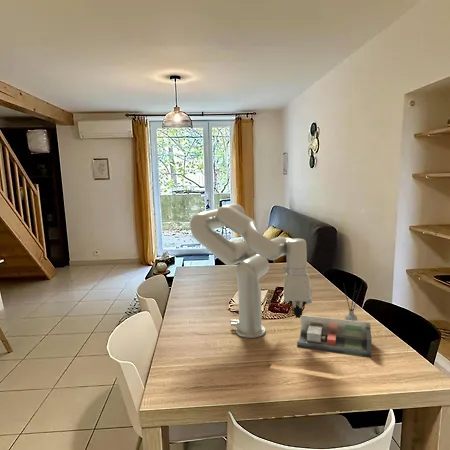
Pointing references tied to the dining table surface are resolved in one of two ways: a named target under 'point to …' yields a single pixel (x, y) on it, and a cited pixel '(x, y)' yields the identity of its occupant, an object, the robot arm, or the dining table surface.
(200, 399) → the dining table surface
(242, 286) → the robot arm
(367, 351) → the grey compartment tray
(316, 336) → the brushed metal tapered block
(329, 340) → the salmon pink rectangular block
